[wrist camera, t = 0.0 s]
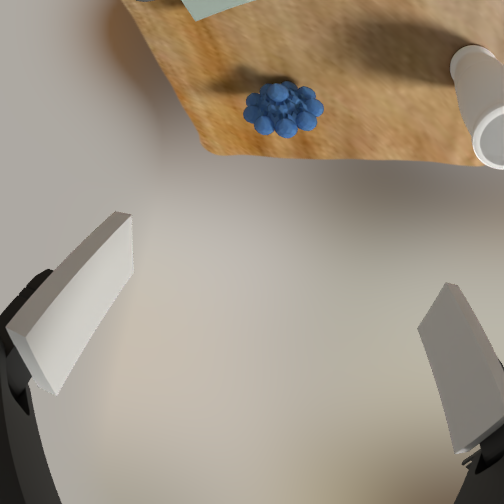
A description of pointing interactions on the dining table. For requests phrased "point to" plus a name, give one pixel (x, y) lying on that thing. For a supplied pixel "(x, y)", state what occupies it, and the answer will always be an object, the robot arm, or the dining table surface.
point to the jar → (481, 101)
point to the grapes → (283, 109)
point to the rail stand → (210, 6)
